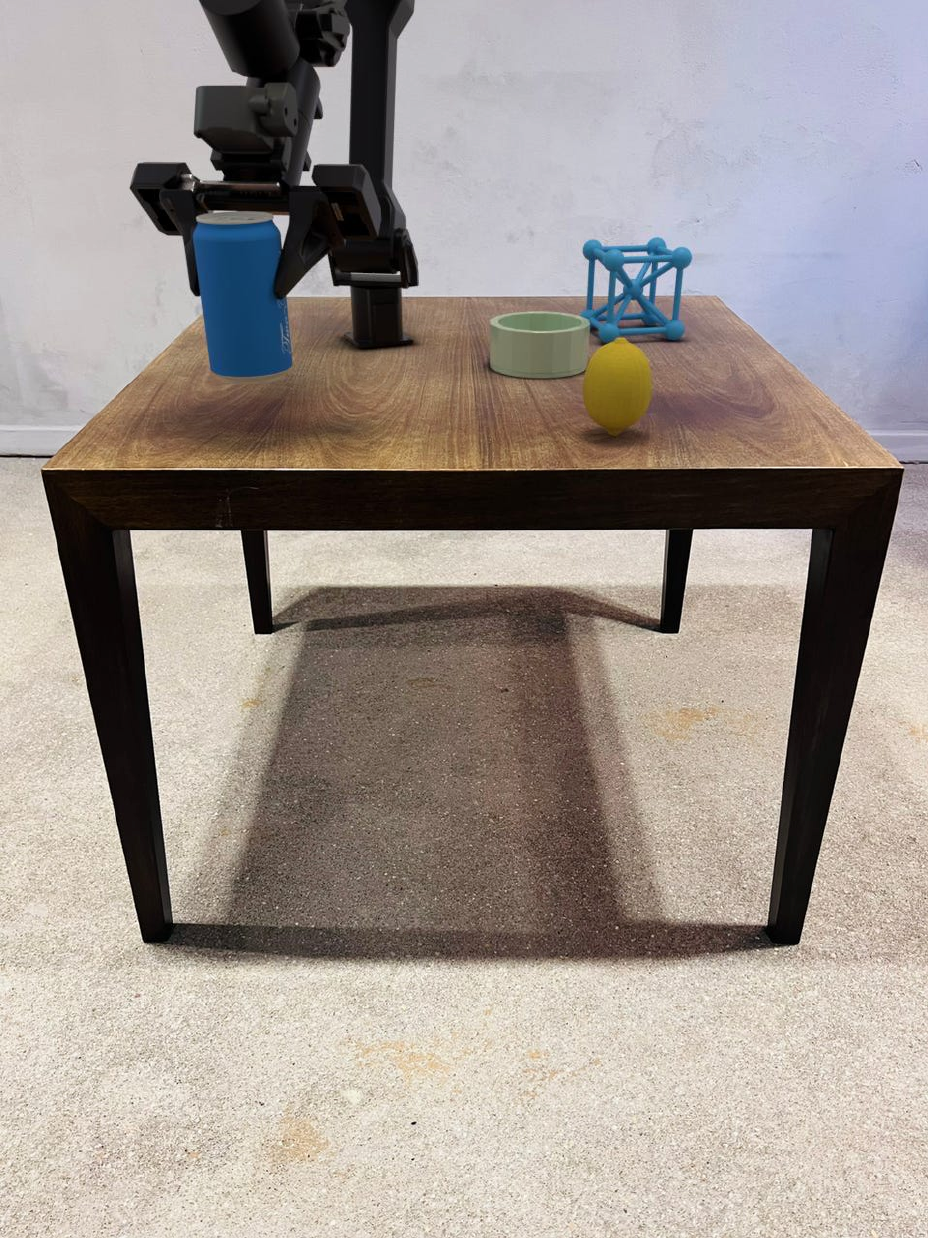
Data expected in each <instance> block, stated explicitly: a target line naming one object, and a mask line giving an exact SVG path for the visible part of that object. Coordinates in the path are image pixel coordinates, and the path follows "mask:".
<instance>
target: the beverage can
mask: <svg viewBox="0 0 928 1238" xmlns="http://www.w3.org/2000/svg"><path fill="white" fill-rule="evenodd" d="M196 219H197V221H198V225H197V227H196V229H195V231H194V233H193V242H194V249H195V257H196V264H197V272H198V280H199V287H200V295H201V296H200V301H201V311H202V316H203V318H202V319H203V325H204V332H205V339H206V347H207V355H208V361H209V370H210V372H211V373H212V374H213V375H215V376H218V377H220V379H221V380H222V382H224V383H227V384H230V385H237V386H239V385H240V386H254V385H262V384H269V383H273V382H276V381H279V380H281V379H283V377H284V376H285V374H286V372H288V371H289V370H291V369H292V368H293V354H292V342H291V332H290V320H289V309H288V308H289V307H288V298H287V296H286V297H285V298H284V299H283V300H278V299H277V298H276V296H275V294H274V284H275V276H276V271H277V267H278V263H279V260H280V256H281V252H282V248H283V244H282V243H283V242H282V234H281V231H280V229H279V227H278V226H277V225H276V224H275V222H274V215H273V214H270V213H265V212H251V211H217V212H213V213H209V214H203V215H199V216H197V217H196Z"/></svg>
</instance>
